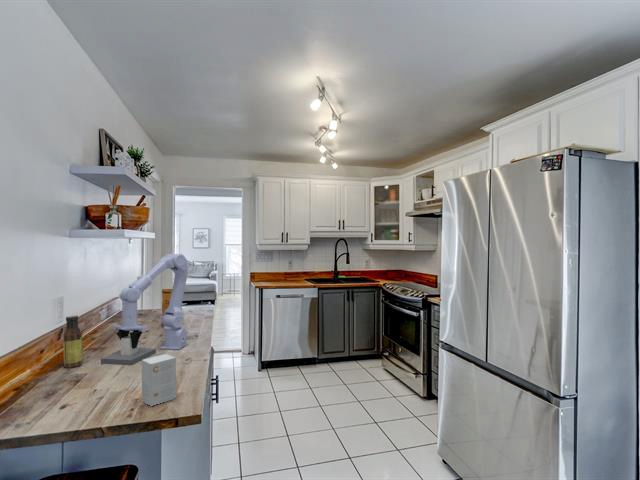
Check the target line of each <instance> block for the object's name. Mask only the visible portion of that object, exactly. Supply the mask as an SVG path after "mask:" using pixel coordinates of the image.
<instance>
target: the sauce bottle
mask: <svg viewBox="0 0 640 480" xmlns="http://www.w3.org/2000/svg"><path fill="white" fill-rule="evenodd" d="M65 320H66V329H65V331H64V333H63V336H62V338H63V341H62V343H63V345H62V347H63V350H62V351H63V366H64V368H68V369H69V368H70V369H71V368H76V367H80V366H82V364H83V359H84V358H83V356H84V355H83V334H82V332H81V330H80V328H79V321H78V320H79V316H78V315H75V314H74V315H69V316H66V317H65Z"/></svg>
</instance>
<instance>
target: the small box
mask: <svg viewBox="0 0 640 480" xmlns="http://www.w3.org/2000/svg"><path fill="white" fill-rule="evenodd" d="M176 362H177V357H175V356H173V355H170V354H169V353H164V354H160V355H157V356H153V357H147V358H145V359H143V360H141V402H142V401H143V402H142V403H144V402H145V403H146V404H145V403H144V404H145V405H147V404H148V405H150V406H153V405H155V406H157V405H156V404H158V405H161V404H163V402H164V403H167V402H169V401H172V400H175V399H177V381H176V380H177V377H176V376H177V373H176V372H177V363H176ZM160 403H161V404H160ZM148 405H147V406H148ZM150 406H149V407H150ZM153 407H154V406H153Z"/></svg>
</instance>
